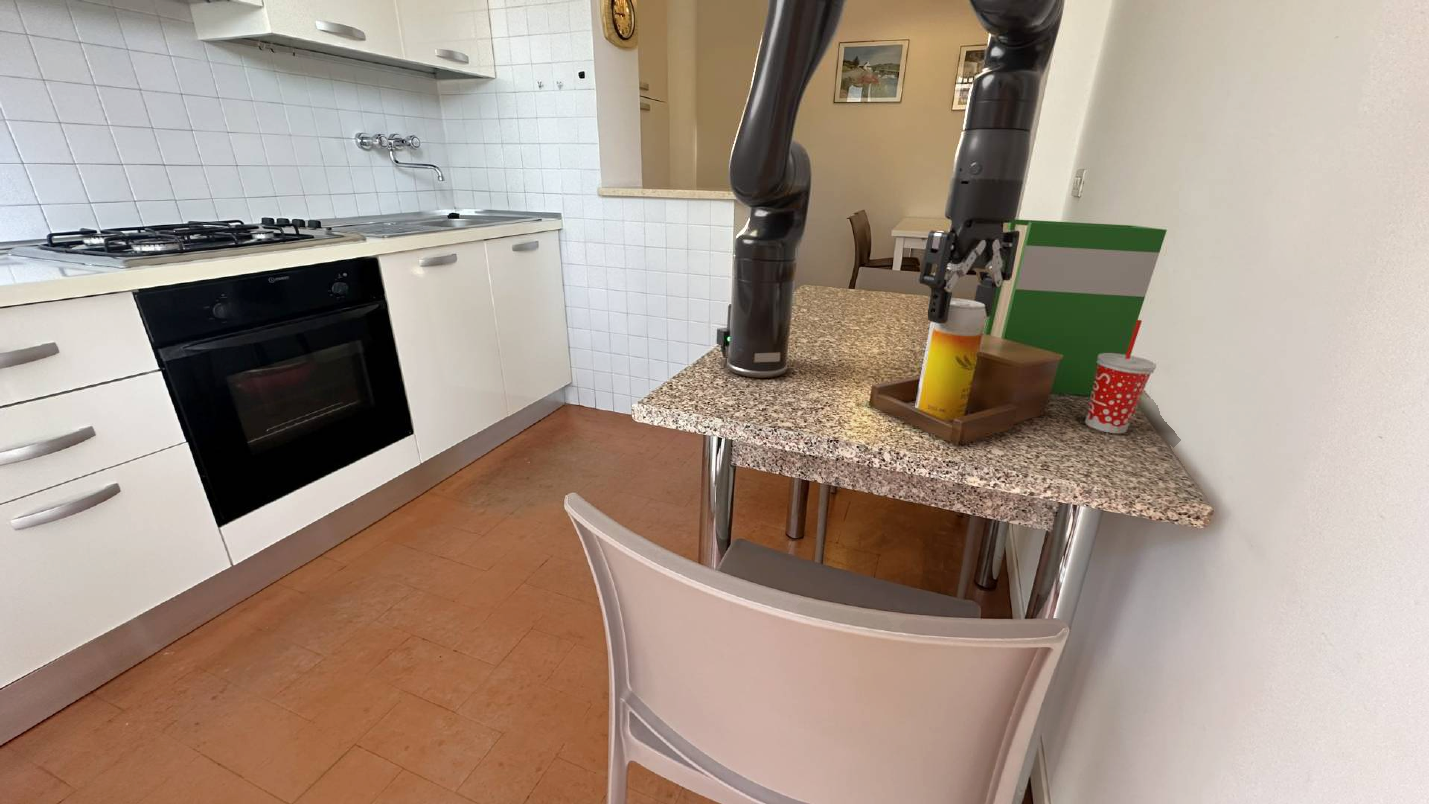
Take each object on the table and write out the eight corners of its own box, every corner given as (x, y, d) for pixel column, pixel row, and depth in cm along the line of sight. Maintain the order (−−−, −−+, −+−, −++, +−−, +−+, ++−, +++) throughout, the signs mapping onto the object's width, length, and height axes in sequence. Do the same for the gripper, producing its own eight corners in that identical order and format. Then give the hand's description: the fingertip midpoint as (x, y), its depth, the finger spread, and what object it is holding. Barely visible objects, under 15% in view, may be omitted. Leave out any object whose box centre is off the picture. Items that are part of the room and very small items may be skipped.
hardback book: (991, 388, 86) (1031, 222, 77) (974, 373, 93) (1009, 218, 84) (1112, 396, 85) (1166, 229, 76) (1086, 380, 92) (1133, 225, 83)
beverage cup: (1075, 413, 78) (1106, 312, 73) (1128, 422, 76) (1164, 319, 71) (1080, 429, 73) (1114, 321, 68) (1137, 439, 70) (1176, 329, 65)
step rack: (868, 405, 77) (877, 345, 74) (962, 384, 87) (974, 330, 84) (957, 446, 66) (972, 377, 63) (1052, 416, 77) (1069, 356, 73)
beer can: (967, 428, 71) (994, 309, 66) (916, 422, 72) (939, 305, 67) (958, 410, 77) (982, 300, 71) (911, 405, 78) (931, 295, 72)
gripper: (994, 178, 70) (968, 308, 76) (917, 173, 63) (895, 317, 69) (1055, 179, 65) (1022, 320, 70) (977, 174, 57) (947, 331, 63)
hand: (959, 318), depth 70 cm, fingers open, 8 cm apart
